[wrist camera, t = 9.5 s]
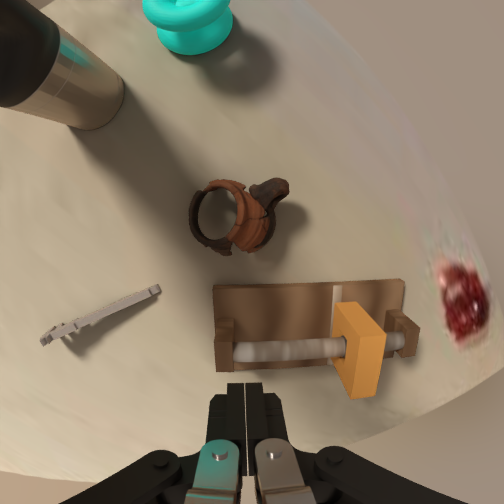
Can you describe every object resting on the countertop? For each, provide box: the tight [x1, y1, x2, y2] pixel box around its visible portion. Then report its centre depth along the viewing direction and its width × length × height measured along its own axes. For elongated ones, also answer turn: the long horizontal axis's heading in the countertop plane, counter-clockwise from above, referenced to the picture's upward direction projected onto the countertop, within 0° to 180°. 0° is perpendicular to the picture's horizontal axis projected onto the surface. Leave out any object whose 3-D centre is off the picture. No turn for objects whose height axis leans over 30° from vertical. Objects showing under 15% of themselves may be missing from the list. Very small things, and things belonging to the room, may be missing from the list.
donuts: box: [143, 0, 233, 55], centre depth 29 cm, size 10×10×10 cm
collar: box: [331, 301, 387, 399], centre depth 36 cm, size 3×8×10 cm, turn 1°
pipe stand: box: [213, 279, 420, 372], centre depth 39 cm, size 26×12×8 cm, turn 91°
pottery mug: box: [189, 178, 289, 256], centre depth 37 cm, size 12×10×8 cm
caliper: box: [40, 284, 161, 346], centre depth 39 cm, size 20×1×6 cm, turn 112°
